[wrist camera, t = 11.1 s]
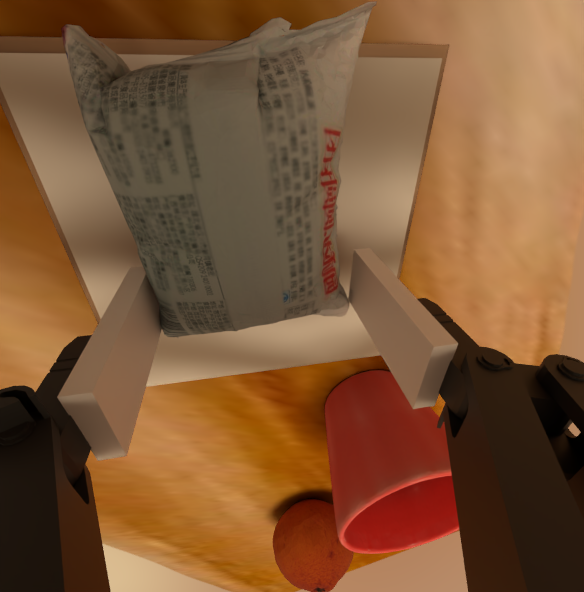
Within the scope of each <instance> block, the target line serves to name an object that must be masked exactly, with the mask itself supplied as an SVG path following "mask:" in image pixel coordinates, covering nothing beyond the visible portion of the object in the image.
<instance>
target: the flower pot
mask: <svg viewBox="0 0 584 592" xmlns="http://www.w3.org/2000/svg"><path fill="white" fill-rule="evenodd" d="M438 420H439V416H438V415H437V414H436V413H435V412H434V411H433V410H432V409H431V408H430V407H423V408H417V409H413V408H412V407H411V405H410V403H409V401H408V400H407V398H406V396H405V395H404V393H403V391H402V390H401V388H400V386H399V385H398V383H397V381H396V379H395V378H394V376H393V374H392V373H391V372H389V371H383V370H373V371H366V372H362V373H359V374H356V375H354V376H351V377H350V378H348V379H346V380H344V381H343V382H341V383H340V384H339V385H338V386H337V387H335V388H334V389H333V391H332V392H331V393H330V395H329V396H328V398H327V400H326V404H325V421H326V432H327V444H328V455H329V464H330V474H331V483H332V494H333V503H334V512H335V519H336V527H337V533H338V538H339V540H340V542H341V544H342V545H343V546H344V547H345V548H347V549H348V550H350V551H353V552H357V553H372V554H374V553H387V552H394V551H400V550H404V549H409V548H412V547H416V546H419V545H422V544H425V543H428V542H431V541H434V540H437V539H439V538H442V537H444V536H446V535H449V534H451V533H453V532H455V531H457V530H459V522H458V515H457V508H456V501H455V494H454V487H453V480H452V473H451V466H450V459H449V452H448V445H447V438H446V431H445V424H444V422H443V424H442V427H441V429H440V428H437V424H438Z"/></svg>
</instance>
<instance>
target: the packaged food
mask: <svg viewBox="0 0 584 592" xmlns="http://www.w3.org/2000/svg"><path fill="white" fill-rule="evenodd" d="M376 3H377V2H367V3H365V4H363V5H361V6H359V7H357V8H354V9H352V10H350V11H348V12H346V13H344V14H342V15H340V16H338V17H335V18H330V19H326V20H321V21H318V22H316V23H314V24H312V25H310V26H308V27H306V28H304V29H301V30H289V28H290V26H291V23H289V22H288V21H286V20H284V19H282V18H281V17H280V18H275V19H271V20H270V21H268V22H267V23H266V24H264V25H263V26H261V27H260V28H258V29H257V30H255V31H254V32H252V33H251V34H250V37H247V38H244V39H241V40H238V41H235V42H233V43H231V44H229V45H226V46H223V47H220V48H217V49H214V50H210V51H207V52H204V53H200V54H197V55H194V56H190V57H186V58H182V59H179V60H175V61H171V62H167V63H161V64H153V65H147V66H145V67H142V68H140V69H137V70H133V71H131V70H130V69H129V67H128V66H127V64H126V63H125V62H124V61H123V59H122V58H121V57H119V56H118V55H117V54H116V53H115V52H114V51H112V50H111V49H110V48H109V47H108V46H106V45H105V44H104V43H103V42H101V41H99V40H97V39H95V38H93V37H90V36H89V35H88V34H87V33H86V32H85V31H84V30H83V28H82V27H81V26H76V25H68V24H66V25H65V26H64V27H62V28H61V30H62V37H63V44H64V48H65V52H66V55H67V59H68V64H69V71H70V74H71V77H72V81H73V84H74V88H75V92H76V97H77V100H78V104H79V107H80V110H81V114H82V117H83V120H84V124H85V127H86V129H87V132H88V134H89V137H90V139H91V142H92V144H93V147H94V149H95V151H96V154H97V156H98V158H99V160H100V163H101V165H102V167H103V170H104V172H105V174H106V176H107V179H108V181H109V183H110V185H111V188H112V190H113V192H114V195H115V197H116V199H117V202H118V204H119V206H120V208H121V211H122V213H123V215H124V218H125V220H126V222H127V225H128V227H129V229H130V231H131V233H132V235H133V237H134V240H135V242H136V244H137V250H138V255H139V258H140V260H141V263H142V265H143V267H144V270H145V272H146V275H147V277H148V280H149V282H150V284H151V286H152V288H153V290H154V292H155V295H156V298H157V300H158V302H159V313H160V324H161V327H162V330H163V332H164V335H166V336H167V337H177V338H178V339H179V337H180V336H188V335H198V334H208V333H217V332H224V331H238V330H242V329H246V328H250V327H254V326H260V325H267V324H273V323H277V322H280V321H284V320H289V319H294V318H299V317H304V316H308V315H322V316H336V317H342V316H344V315H346V313H347V311H348V309H349V304H350V302H349V300H348V297H347V295H346V293H345V290H344V288H343V287H342V285H341V284H340V281H339V276H340V266H339V259H338V255H339V252H338V249H337V218H336V216H337V214H336V210H337V209H338V207H337V204H336V202H337V197H338V193H339V188H340V184H341V177H340V173H339V170H338V168H339V160H340V148H341V145H342V143H343V132H344V127H345V118H346V108H347V103H348V99H349V95H350V90H351V86H352V81H353V74H354V69H355V65H356V62H357V59H358V51H359V48H360V45H361V41H362V38H363V35H364V31H365V28H366V25H367V22H368V19H369V16H370V12H371V10H372V7H373V6H375V5H376ZM283 35H284V36H283ZM100 44H102V45H103V46H104V47H105V48H106V49H105V48H104V47H103V46H102V45H100Z"/></svg>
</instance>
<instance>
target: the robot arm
mask: <svg viewBox="0 0 584 592" xmlns="http://www.w3.org/2000/svg"><path fill="white" fill-rule="evenodd" d="M348 300H349V301H350V303H351V305H352V307H353V308H354V310H355V312H356V313H357V315H358V317H359V318H360V320H361V322H362V324H363V325H364V327H365V329H366V330H367V332H368V334H369V335H370V337H371V339H372V340H373V342H374V344H375V346H376V347H377V349H378V351H379V352H380V354H381V356H382V357H383V359H384V361H385V362H386V364H387V366H388V368H389V369H390V371H391V373H392V374H393V376H394V378H395V379H396V381H397V383H398V385H399V386H400V388H401V390H402V391H403V393H404V395H405V396H406V398H407V400H408V401H409V403H410V405H411V407H412V408H413V409H417V408H423V407H430V406H434V405H435V403H436V400H437V398H438V395H439V394H440V395H441V397H442V398H443V399H444V401H445V402H446V403H445V406H444V408H443V411H442V413H441V415H440V418H439V420H438V424H437V428H440V429H441V427H442V424H443V422H444V424H445V431H446V438H447V445H448V452H449V459H450V466H451V473H452V480H453V487H454V494H455V501H456V508H457V515H458V522H459V529H460V537H461V543H462V550H463V557H464V565H465V571H466V578H467V585H468V592H584V363H583V362H581V361H579V360H577V359H575V358H571V357H568V356H564V355H557V354H555V355H549V356H547V357H546V358H545V359H544V360H543V362H542V363H541V365H540V366H533V365H524V364H515V363H514V362H513V361H512V360H511V359H510V358H509V357H507V356H506V355H505V354H503V353H501V352H499V351H497V350H494V349H491V348H487V347H479V346H478V345H477V344H476V343H475V342H474V341H473V340H472V339H471V338H470V337H469V336H468V335H467V334H466V333H465V332H464V331H463V330H462V329H461V328H460V327H459V326H458V325H457V324H456V323H455V322H453V320H452V319H451V318H450V317H449V316H448V315H446V313H445V312H444V311H443V310H442V309H441V308H440V307H439V306H438V305H437V304H435V303H433V302H432V301H430V300H428V299H426V298H421V299H417V298H416V297H415V296H414V295H413V294H412V293H411V292H410V291H409V290H408V289H407V288H406V287H405V286H404V284H403V283H402V282H401V281H400V280H399V279H398V278H397V277H396V276H395V275H394V274H393V273H392V272H391V270H390V269H389V268H388V267H387V266H386V265H385V264H384V263H383V262H382V261H381V260H380V259H379V258H378V256H377V255H376V254H375V253H374V252H373V251H372V250H371V249H370V248H364V249H354V253H353V261H352V270H351V279H350V288H349V296H348ZM161 331H162V327H161V324H160V313H159V302H158V300H157V298H156V295H155V292H154V290H153V288H152V286H151V284H150V282H149V280H148V277H147V275H146V272H145V270H144V267H143V266H142V267H130V269H129V270H128V272H127V274H126V276H125V278H124V279H123V281H122V283H121V285H120V286H119V288H118V290H117V292H116V294H115V295H114V297H113V299H112V301H111V302H110V304H109V306H108V308H107V309H106V311H105V313H104V315H103V317H102V318H101V320H100V322H99V324H98V325H97V327H96V329H95V331H94V333H93V334H92V335H89V336H80V337H77V338H76V339H74V340H73V341H72V342H71V343H69V344H68V345H67V346H66V347H65V348H64V349H63V350H62V352H61V354H60V355H59V357H58V358H57V360H56V363H54V364H53V366H52V368H51V369H50V373H48V374H47V375H46V377H45V378H44V380H43V381H42V383H41V385H40V386H39V388H38V389H37V391H36V392H34V390H33V389H32V388H30V387H27V386H12V387H8V388H5V389H1V390H0V592H110V586H109V580H108V575H107V570H106V563H105V557H104V551H103V546H102V540H101V534H100V528H99V522H98V516H97V510H96V505H95V499H94V493H93V487H92V481H91V476H90V472H89V470H88V468H87V466H86V465H85V463H86V461H87V458H88V455H89V453H90V450H91V451H92V452H93V454H94V455H95V457H96V458H97V460H98V461H99V460H105V459H111V458H117V457H123V456H127V453H128V449H129V445H130V442H131V438H132V435H133V431H134V427H135V424H136V420H137V417H138V413H139V409H140V406H141V402H142V399H143V395H144V392H145V388H146V384H147V381H148V377H149V374H150V370H151V366H152V363H153V359H154V356H155V352H156V348H157V345H158V341H159V338H160V334H161ZM572 422H573V423H574V424H575V425H576V427H577V428H578V429H579V430H580V432H581V433H580V434H579V435H578V436H577V437H576V436H574V435H573V434H572V433H571V432H570V431H569V429H568V427H569V426H570V424H571V423H572Z"/></svg>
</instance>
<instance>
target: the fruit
mask: <svg viewBox="0 0 584 592" xmlns="http://www.w3.org/2000/svg"><path fill="white" fill-rule="evenodd" d="M273 549H274V554H275V560H276V563H277V565H278V567H279V569H280V571H281V572H282V574H283V575H284V577H285V578H286V579H287V580H288V581H289V582H290V583H291V584H293V585H294V586H296V587H297V588H300V589H304V590H307V591H311V592H329V591H330V590H332V589H333V588H334V587H335V585H336V584H337V582H338V581H339V580H340V579H341V578H342V577H343V575H344V574H345V572H346V571H347V570H348V568H349V565H350V563H351V561H352V558H353V551H350V550H348V549H347V548H345V547H344V546H343V545H342V544H341V542H340V540H339V538H338V533H337V527H336V519H335V512H334V505H332V504H330V503H327V502H325V501H321V500H317V499H307V500H303V501H300V502H298V503H296V504H294V505H293V506H291V507H290V508H289V509H288V510H287V511H286V512H285V513H284V514H283V516H282V517H281V518H280V520H279V521H278V523H277V525H276V528H275V531H274V535H273Z"/></svg>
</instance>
